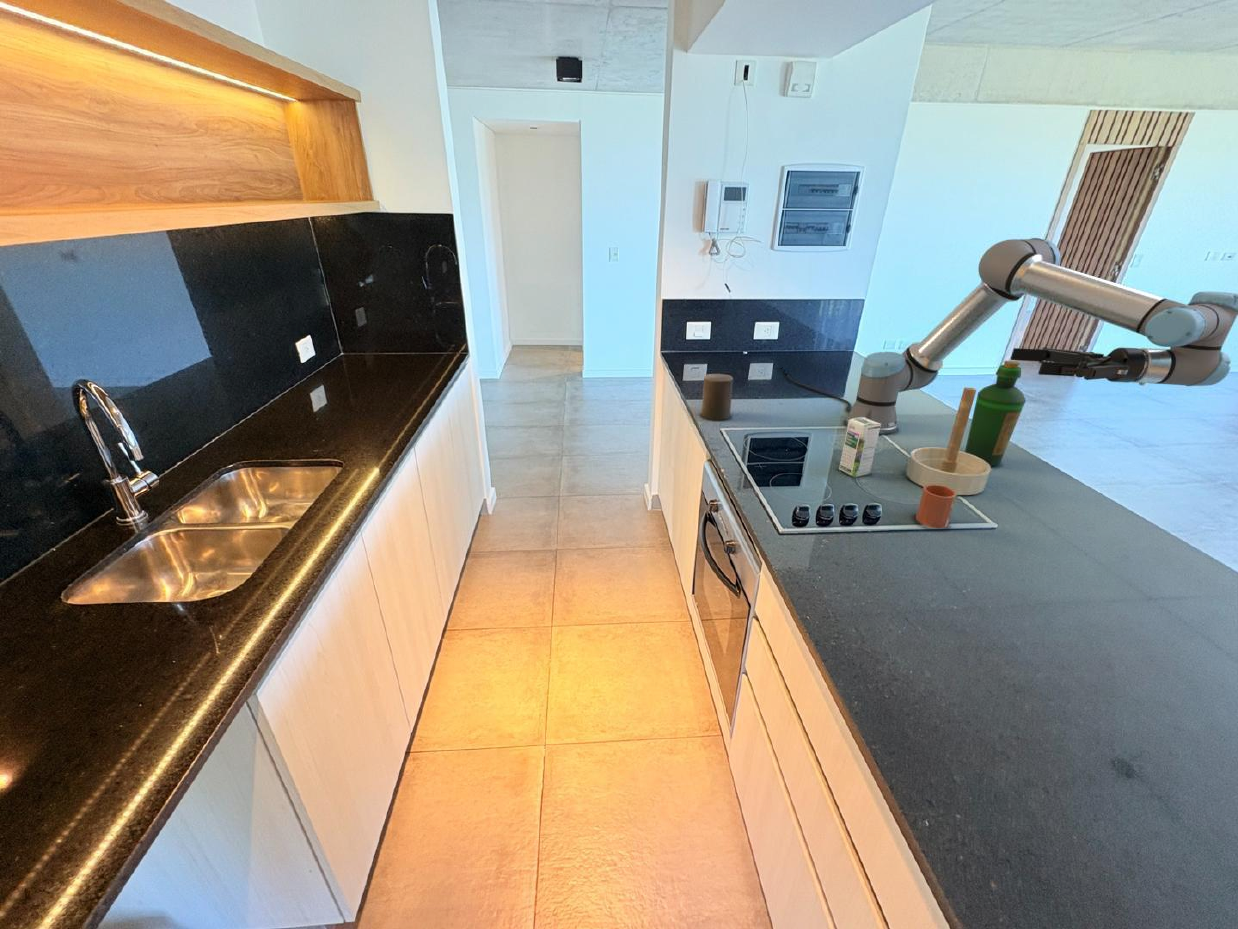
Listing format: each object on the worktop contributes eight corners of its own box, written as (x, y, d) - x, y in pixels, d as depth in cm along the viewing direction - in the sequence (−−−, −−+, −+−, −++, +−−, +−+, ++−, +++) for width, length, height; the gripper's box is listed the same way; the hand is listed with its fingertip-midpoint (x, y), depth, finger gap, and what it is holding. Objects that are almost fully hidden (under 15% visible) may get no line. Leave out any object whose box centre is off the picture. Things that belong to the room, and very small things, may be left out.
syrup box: (837, 469, 143) (847, 419, 137) (854, 465, 145) (864, 415, 139) (854, 478, 138) (864, 426, 132) (870, 474, 140) (882, 422, 134)
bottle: (1011, 470, 142) (1046, 368, 130) (967, 467, 144) (998, 366, 132) (994, 455, 151) (1025, 358, 140) (953, 452, 153) (980, 356, 142)
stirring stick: (938, 480, 135) (964, 389, 125) (936, 476, 137) (961, 387, 127) (953, 481, 134) (980, 390, 124) (950, 478, 136) (976, 387, 126)
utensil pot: (908, 517, 120) (917, 485, 116) (933, 514, 121) (941, 483, 118) (928, 531, 114) (937, 499, 111) (953, 528, 115) (963, 496, 112)
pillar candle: (717, 422, 176) (721, 378, 170) (695, 415, 183) (698, 373, 176) (735, 416, 182) (739, 373, 176) (713, 409, 188) (716, 368, 182)
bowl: (890, 470, 142) (895, 450, 140) (947, 464, 145) (952, 444, 143) (939, 501, 127) (945, 478, 124) (1001, 494, 130) (1008, 472, 127)
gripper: (1166, 398, 107) (1048, 392, 111) (1094, 368, 129) (998, 363, 133) (1183, 362, 104) (1060, 356, 108) (1106, 337, 126) (1007, 333, 130)
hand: (1025, 360), depth 121 cm, fingers open, 13 cm apart
